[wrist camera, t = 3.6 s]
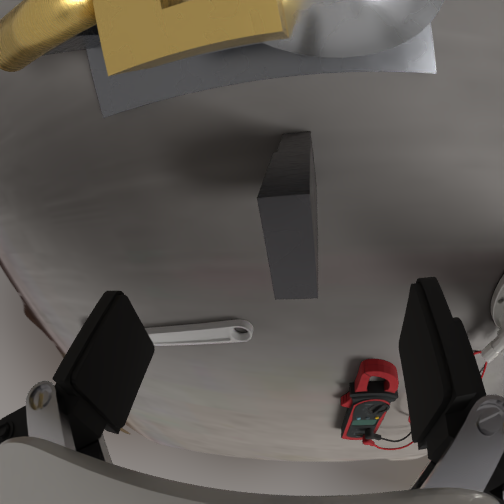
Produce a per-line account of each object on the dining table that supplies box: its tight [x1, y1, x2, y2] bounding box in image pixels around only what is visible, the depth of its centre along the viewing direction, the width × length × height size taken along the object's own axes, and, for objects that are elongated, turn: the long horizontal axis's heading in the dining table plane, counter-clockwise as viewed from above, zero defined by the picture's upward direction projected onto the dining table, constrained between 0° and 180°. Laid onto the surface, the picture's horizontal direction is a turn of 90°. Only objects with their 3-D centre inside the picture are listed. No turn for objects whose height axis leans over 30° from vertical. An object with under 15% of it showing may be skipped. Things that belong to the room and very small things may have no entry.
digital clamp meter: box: [341, 351, 487, 450], centre depth 38 cm, size 23×4×25 cm
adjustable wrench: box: [145, 319, 253, 346], centre depth 38 cm, size 25×6×2 cm, turn 104°
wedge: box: [257, 132, 318, 299], centre depth 18 cm, size 2×5×12 cm, turn 10°
